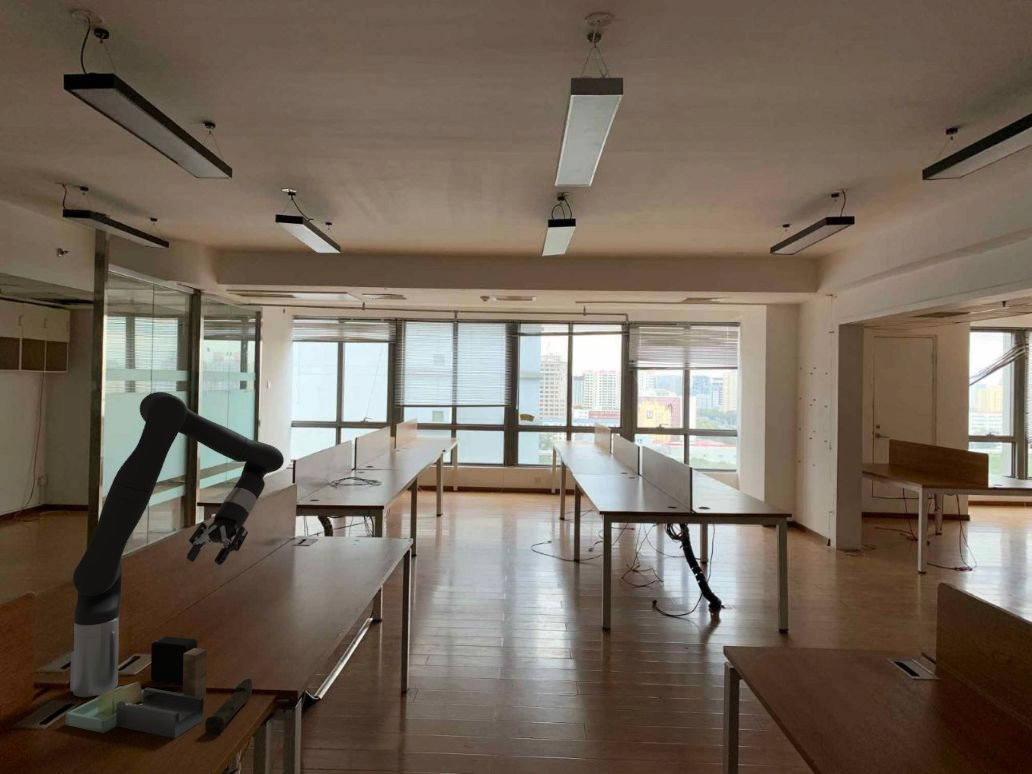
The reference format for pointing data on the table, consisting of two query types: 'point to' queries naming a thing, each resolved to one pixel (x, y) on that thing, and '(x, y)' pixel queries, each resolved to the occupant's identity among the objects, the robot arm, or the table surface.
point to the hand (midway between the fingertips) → (203, 561)
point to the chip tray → (90, 717)
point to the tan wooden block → (195, 672)
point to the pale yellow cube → (128, 694)
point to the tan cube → (106, 703)
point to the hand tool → (229, 708)
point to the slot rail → (161, 713)
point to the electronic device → (169, 658)
